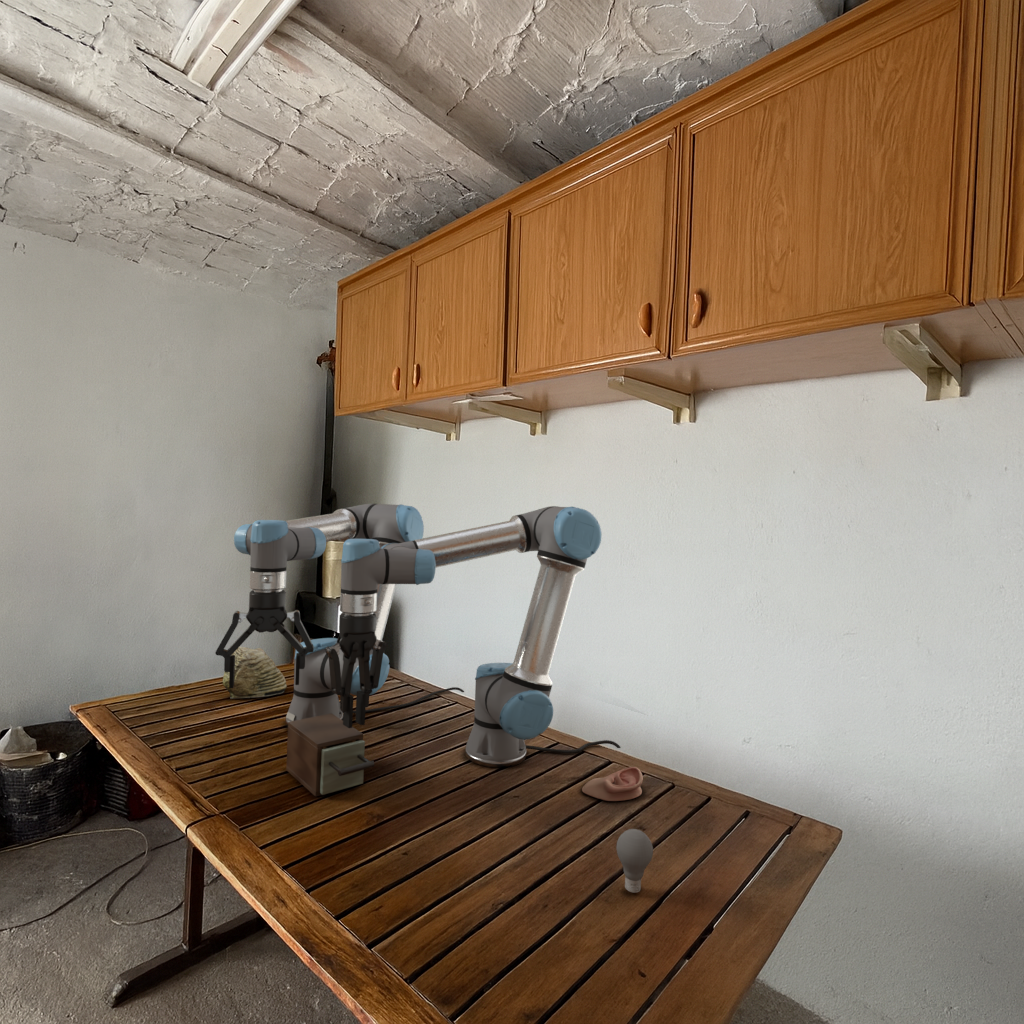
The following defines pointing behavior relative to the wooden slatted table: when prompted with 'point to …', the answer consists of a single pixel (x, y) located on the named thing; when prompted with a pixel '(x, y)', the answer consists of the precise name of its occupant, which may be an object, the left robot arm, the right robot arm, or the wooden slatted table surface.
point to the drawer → (343, 766)
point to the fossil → (254, 675)
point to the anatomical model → (616, 785)
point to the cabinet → (314, 746)
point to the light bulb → (634, 857)
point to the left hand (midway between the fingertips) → (264, 684)
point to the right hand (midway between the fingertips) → (353, 724)
